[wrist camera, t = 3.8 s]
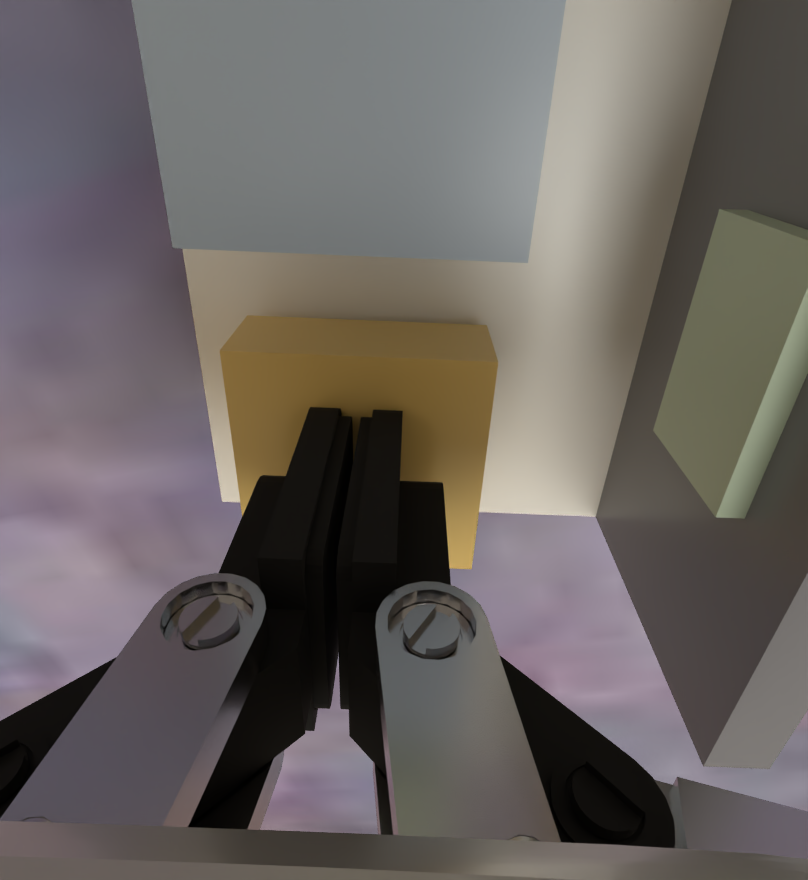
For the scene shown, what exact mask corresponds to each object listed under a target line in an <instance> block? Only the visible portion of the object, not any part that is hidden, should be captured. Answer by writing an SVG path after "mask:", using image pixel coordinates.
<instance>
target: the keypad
mask: <svg viewBox="0 0 808 880" xmlns="http://www.w3.org/2000/svg"><path fill="white" fill-rule="evenodd" d="M182 250H183V256H184V262H185V269H186V275H187V281H188V288H189V294H190V300H191V307H192V313H193V319H194V326H195V332H196V338H197V345H198V351H199V357H200V364H201V370H202V376H203V383H204V389H205V395H206V402H207V408H208V414H209V421H210V427H211V433H212V440H213V446H214V452H215V459H216V465H217V471H218V478H219V484H220V490H221V497H222V502H240V496H239V489H238V481H237V474H236V467H235V460H234V452H233V445H232V438H231V431H230V423H229V416H228V409H227V402H226V394H225V387H224V380H223V373H222V365H221V358H220V349H221V348H222V347H223V346H224V344H225V343H226V342H227V340H228V339H229V338H230V337H231V335H232V334H233V333H234V332H235V330H236V329H237V328H238V326H239V325H240V324H241V323H242V321H243V320H244V319H245V318H246V316H247V315H253V316H278V317H302V318H326V319H350V320H375V321H399V322H423V323H448V324H472V325H487V327H488V330H489V334H490V337H491V340H492V343H493V346H494V350H495V353H496V356H497V359H498V369H497V377H496V385H495V392H494V400H493V408H492V415H491V423H490V431H489V438H488V446H487V454H486V461H485V469H484V477H483V484H482V492H481V500H480V507H479V512H493V513H518V514H543V515H568V516H592V517H596V518H597V521H598V523H599V525H600V528H601V530H602V532H603V535H604V537H605V539H606V542H607V544H608V546H609V549H610V551H611V553H612V556H613V558H614V560H615V563H616V565H617V567H618V569H619V572H620V574H621V576H622V579H623V581H624V583H625V586H626V588H627V590H628V593H629V595H630V597H631V600H632V602H633V604H634V607H635V609H636V611H637V614H638V616H639V618H640V621H641V623H642V625H643V627H644V630H645V632H646V634H647V637H648V639H649V641H650V644H651V646H652V648H653V651H654V653H655V655H656V658H657V660H658V662H659V665H660V667H661V669H662V672H663V674H664V676H665V679H666V681H667V683H668V686H669V688H670V690H671V692H672V695H673V697H674V699H675V702H676V704H677V706H678V709H679V711H680V713H681V716H682V718H683V720H684V723H685V725H686V727H687V730H688V732H689V734H690V737H691V739H692V741H693V744H694V746H695V748H696V750H697V753H698V755H699V757H700V760H701V762H702V764H703V766H708V767H734V768H759V769H770V767H771V766H772V764H773V763H774V761H775V760H776V758H777V757H778V755H779V753H780V752H781V750H782V749H783V747H784V746H785V744H786V743H787V741H788V740H789V738H790V736H791V735H792V733H793V732H794V730H795V729H796V727H797V726H798V724H799V723H800V721H801V719H802V718H803V716H804V715H805V713H806V712H807V710H808V0H566V3H565V10H564V17H563V24H562V31H561V37H560V44H559V51H558V58H557V65H556V72H555V79H554V86H553V93H552V100H551V106H550V113H549V120H548V127H547V134H546V141H545V148H544V155H543V162H542V169H541V175H540V182H539V189H538V196H537V203H536V210H535V217H534V224H533V231H532V238H531V244H530V251H529V258H528V263H515V262H491V261H467V260H443V259H419V258H395V257H371V256H347V255H323V254H299V253H274V252H250V251H226V250H202V249H182Z"/></svg>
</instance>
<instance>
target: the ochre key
mask: <svg viewBox="0 0 808 880" xmlns="http://www.w3.org/2000/svg"><path fill="white" fill-rule="evenodd" d="M220 358H221V365H222V373H223V380H224V387H225V394H226V402H227V409H228V416H229V423H230V431H231V438H232V445H233V452H234V460H235V467H236V474H237V481H238V489H239V496H240V503H241V510H242V516H243V514H244V512H245V509H246V507H247V504H248V502H249V500H250V497H251V495H252V492H253V490H254V488H255V485H256V483H257V481H258V479H259V477H260V476H262V475H272V476H286V474H287V471H288V468H289V465H290V462H291V459H292V456H293V454H294V451H295V448H296V445H297V442H298V439H299V436H300V433H301V431H302V428H303V425H304V422H305V419H306V416H307V413H308V410H309V408H310V407H322V408H341V413H342V416H352V421H353V459H354V454H355V448H356V442H357V436H358V431H359V425H360V419H361V417H372V413H373V410H396V411H403V418H402V443H401V468H400V481H422V482H442V483H443V487H444V500H445V514H446V527H447V541H448V555H449V568H455V569H472V561H473V553H474V546H475V538H476V530H477V523H478V515H479V507H480V500H481V492H482V484H483V477H484V469H485V461H486V454H487V446H488V438H489V431H490V423H491V415H492V408H493V400H494V392H495V385H496V377H497V369H498V359H497V356H496V353H495V350H494V346H493V343H492V340H491V337H490V334H489V330H488V327H487V325H472V324H448V323H423V322H399V321H375V320H350V319H326V318H302V317H278V316H253V315H247V316H246V318H245V319H244V320H243V321H242V323H241V324H240V325H239V326H238V328H237V329H236V330H235V332H234V333H233V334H232V335H231V337H230V338H229V339H228V340H227V342H226V343H225V344H224V346H223V347H222V348H221V349H220Z"/></svg>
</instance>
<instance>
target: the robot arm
mask: <svg viewBox="0 0 808 880" xmlns="http://www.w3.org/2000/svg"><path fill="white" fill-rule="evenodd" d="M402 418H403V411H396V410H373V413H372V417H361V419H360V425H359V431H358V436H357V442H356V448H355V454H354V459H353V421H352V416H342V413H341V408H322V407H310V408H309V410H308V413H307V416H306V419H305V422H304V425H303V428H302V431H301V433H300V436H299V439H298V442H297V445H296V448H295V451H294V454H293V456H292V459H291V462H290V465H289V468H288V471H287V474H286V476H272V475H262V476H260V477H259V479H258V481H257V483H256V485H255V488H254V490H253V492H252V495H251V497H250V500H249V502H248V504H247V507H246V509H245V512H244V514H243V516H242V519H241V521H240V523H239V526H238V528H237V531H236V533H235V535H234V538H233V540H232V543H231V545H230V547H229V550H228V552H227V555H226V557H225V559H224V562H223V564H222V566H221V569H220V571H219V573H214V574H208V575H203V576H198V577H195V578H193V579H190V580H188V581H185V582H182V583H180V584H179V585H177V586H176V587H174V588H173V589H171V590H170V591H168V592H167V593H166V594H165V595H164V596H163V597H162V598H161V599H160V600H159V601H158V602H157V603H156V604H155V605H154V607H153V608H152V609H151V611H150V612H149V614H148V615H147V616H146V618H145V619H144V620H143V622H142V623H141V625H140V626H139V627H138V629H137V630H136V632H135V633H134V634H133V636H132V637H131V638H130V640H129V641H128V643H127V644H126V645H125V647H124V648H123V650H122V651H121V652H120V654H119V655H118V656H117V657H116V658H114V659H112V660H111V661H109V662H107V663H105V664H103V665H102V666H100V667H98V668H96V669H94V670H92V671H91V672H89V673H87V674H85V675H83V676H82V677H80V678H78V679H76V680H74V681H72V682H71V683H69V684H67V685H65V686H63V687H61V688H60V689H58V690H56V691H54V692H52V693H51V694H49V695H47V696H45V697H43V698H41V699H40V700H38V701H36V702H34V703H32V704H31V705H29V706H27V707H25V708H23V709H21V710H20V711H18V712H16V713H14V714H12V715H11V716H9V717H7V718H5V719H3V720H1V721H0V880H808V812H807V811H803V810H800V809H796V808H792V807H788V806H784V805H781V804H777V803H773V802H769V801H766V800H762V799H758V798H754V797H751V796H747V795H743V794H739V793H736V792H732V791H728V790H724V789H720V788H717V787H713V786H709V785H705V784H702V783H698V782H694V781H690V780H687V779H683V778H679V777H677V778H676V780H675V782H674V784H673V785H671V784H667V783H664V782H660V781H656V780H654V779H653V777H652V776H651V775H650V774H649V773H648V772H647V771H646V770H644V769H643V768H642V767H641V766H640V765H639V764H638V763H637V762H636V761H635V760H634V759H633V758H631V757H630V756H629V755H628V754H626V753H625V752H624V751H622V750H621V749H620V748H618V747H617V746H616V745H615V744H613V743H612V742H611V741H609V740H608V739H607V738H606V737H604V736H603V735H602V734H600V733H599V732H598V731H597V730H595V729H594V728H593V727H591V726H590V725H589V724H588V723H586V722H585V721H584V720H582V719H581V718H580V717H579V716H577V715H576V714H575V713H573V712H572V711H571V710H569V709H568V708H567V707H566V706H564V705H563V704H562V703H560V702H559V701H558V700H557V699H555V698H554V697H553V696H551V695H550V694H549V693H548V692H546V691H545V690H544V689H542V688H541V687H540V686H539V685H537V684H536V683H535V682H533V681H532V680H531V679H530V678H528V677H527V676H526V675H524V674H523V673H522V672H520V671H519V670H518V669H517V668H515V667H514V666H513V665H511V664H510V663H509V662H508V661H506V660H505V659H504V658H502V657H501V656H500V655H499V652H498V649H497V646H496V643H495V640H494V637H493V634H492V631H491V628H490V625H489V622H488V619H487V617H486V615H485V613H484V611H483V609H482V607H481V605H480V604H479V603H478V602H477V601H476V600H475V599H474V598H473V597H472V596H470V595H469V594H468V593H466V592H464V591H462V590H461V589H459V588H457V587H455V586H452V585H451V583H450V569H449V555H448V541H447V527H446V514H445V500H444V487H443V483H442V482H422V481H400V468H401V443H402ZM338 652H339V677H340V706H341V709H349V729H350V737H351V738H352V739H353V740H354V741H355V742H356V743H357V744H358V745H359V747H360V748H361V749H362V750H363V751H364V752H365V753H366V754H367V755H368V756H369V758H370V759H371V760H372V761H373V779H374V790H375V802H376V814H377V826H378V834H352V833H326V832H300V831H274V830H260V828H261V825H262V822H263V819H264V816H265V813H266V811H267V808H268V805H269V802H270V799H271V796H272V794H273V791H274V788H275V785H276V782H277V780H278V777H279V774H280V771H281V767H282V762H283V757H284V750H285V749H286V748H287V747H289V746H290V745H291V744H292V743H294V742H295V741H296V740H298V739H299V738H300V737H301V736H303V735H304V734H305V730H307V731H314V729H315V723H316V717H317V710H318V708H328V709H330V706H331V701H332V695H333V688H334V680H335V673H336V666H337V659H338Z"/></svg>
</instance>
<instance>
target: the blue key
mask: <svg viewBox="0 0 808 880" xmlns="http://www.w3.org/2000/svg"><path fill="white" fill-rule="evenodd" d="M131 1H132V7H133V13H134V19H135V25H136V31H137V37H138V43H139V49H140V55H141V61H142V67H143V73H144V79H145V85H146V91H147V97H148V103H149V109H150V115H151V121H152V127H153V133H154V139H155V145H156V151H157V157H158V163H159V169H160V175H161V181H162V187H163V193H164V199H165V205H166V211H167V218H168V224H169V230H170V236H171V242H172V248H178V249H202V250H226V251H250V252H274V253H299V254H323V255H347V256H371V257H395V258H419V259H443V260H467V261H491V262H515V263H528V258H529V251H530V244H531V238H532V231H533V224H534V217H535V210H536V203H537V196H538V189H539V182H540V175H541V169H542V162H543V155H544V148H545V141H546V134H547V127H548V120H549V113H550V106H551V100H552V93H553V86H554V79H555V72H556V65H557V58H558V51H559V44H560V37H561V31H562V24H563V17H564V10H565V3H566V0H131Z"/></svg>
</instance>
